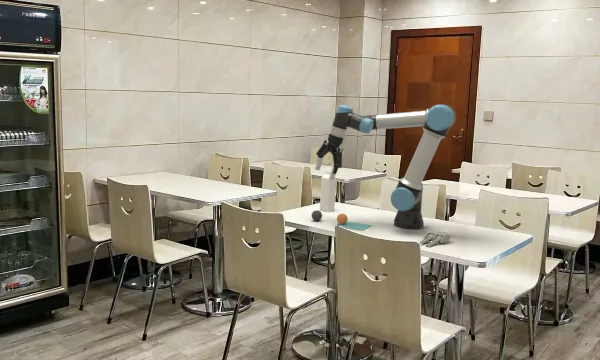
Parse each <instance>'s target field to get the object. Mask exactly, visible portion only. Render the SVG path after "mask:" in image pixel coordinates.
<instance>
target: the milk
mask: <svg viewBox="0 0 600 360" xmlns="http://www.w3.org/2000/svg"><path fill="white" fill-rule="evenodd" d="M330 174H331V171H324V174H323V175H322V176H321V179H320V198H319V199H320V201H319V211H320V212H327V213H331V212H334V211H335V209H336V208H335V205H336V186H337V177H336V176H335V178H334V180H332V179H329V177H330Z"/></svg>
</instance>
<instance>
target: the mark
mask: <svg viewBox="0 0 600 360" xmlns="http://www.w3.org/2000/svg"><path fill="white" fill-rule="evenodd" d="M339 225H340V226H342V227H345V228H344V229H349V228H350V229H351V230H357V231H365V230H367V229H369V228H371V227H372V226H373V224H370V223H369V224H368V223H361V222H353V221H347V222H346V223H345V224H339ZM342 227H341V228H342Z"/></svg>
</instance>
